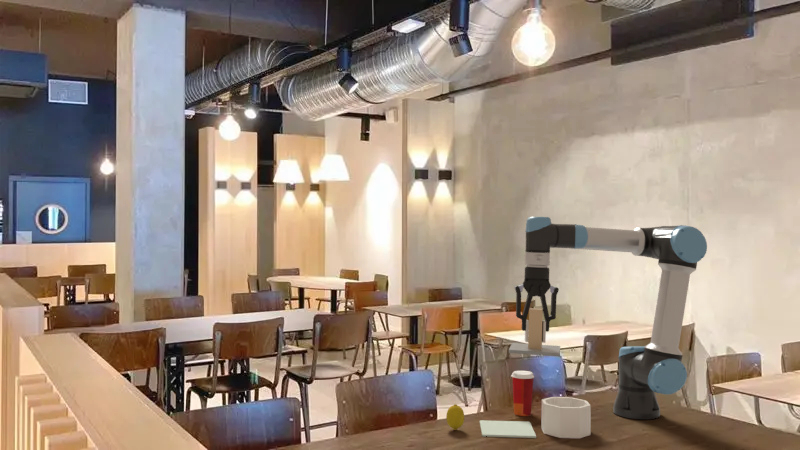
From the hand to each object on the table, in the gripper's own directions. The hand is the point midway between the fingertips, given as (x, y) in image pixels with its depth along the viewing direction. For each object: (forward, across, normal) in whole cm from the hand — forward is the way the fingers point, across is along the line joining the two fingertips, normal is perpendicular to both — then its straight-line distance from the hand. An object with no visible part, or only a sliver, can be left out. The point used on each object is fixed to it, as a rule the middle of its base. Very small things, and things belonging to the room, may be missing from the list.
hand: (534, 341), depth 216 cm
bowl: (+27, +10, 0) cm, 29 cm away
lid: (+3, 0, -1) cm, 3 cm away
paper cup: (+28, -1, +20) cm, 34 cm away
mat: (+28, -8, 0) cm, 29 cm away
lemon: (+28, -24, -1) cm, 37 cm away
